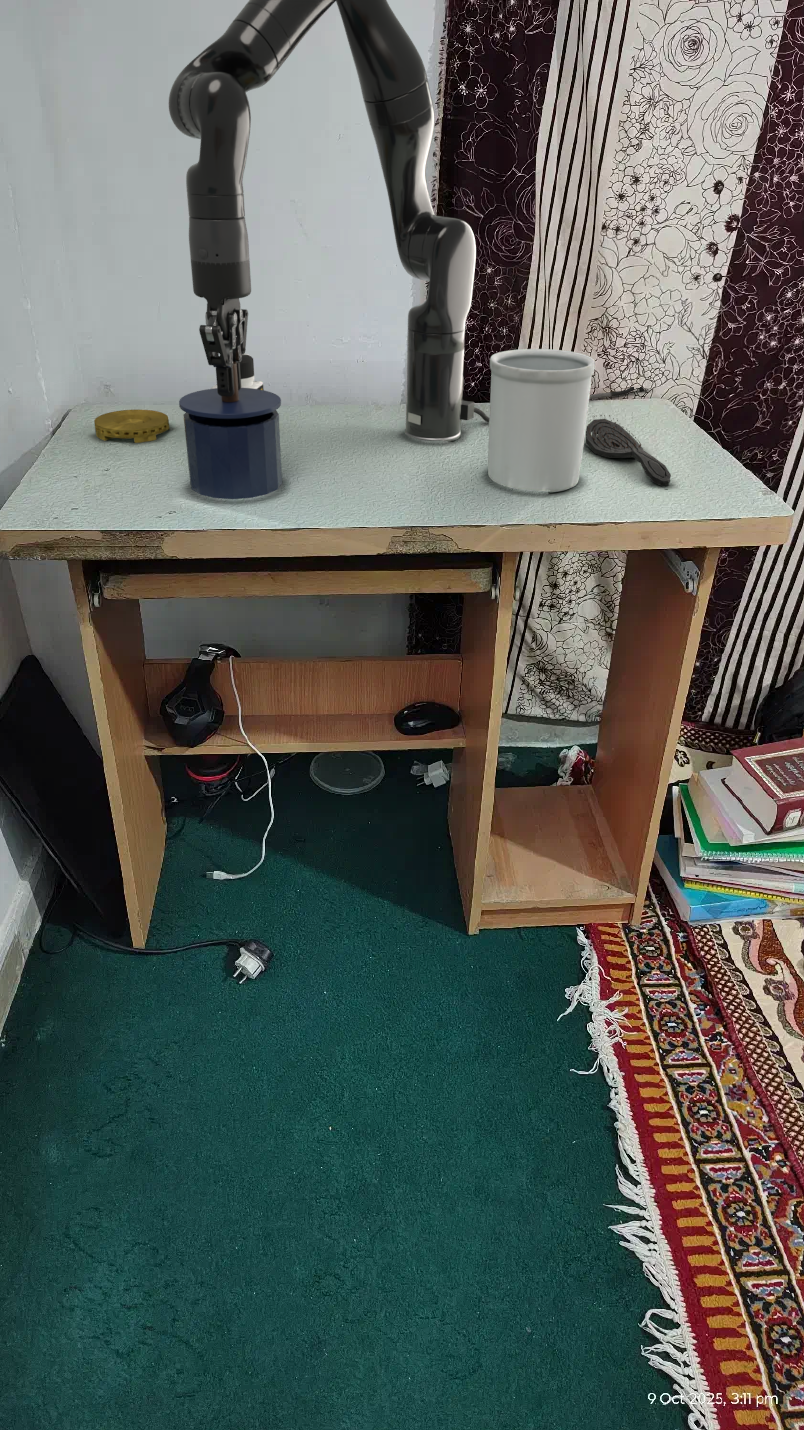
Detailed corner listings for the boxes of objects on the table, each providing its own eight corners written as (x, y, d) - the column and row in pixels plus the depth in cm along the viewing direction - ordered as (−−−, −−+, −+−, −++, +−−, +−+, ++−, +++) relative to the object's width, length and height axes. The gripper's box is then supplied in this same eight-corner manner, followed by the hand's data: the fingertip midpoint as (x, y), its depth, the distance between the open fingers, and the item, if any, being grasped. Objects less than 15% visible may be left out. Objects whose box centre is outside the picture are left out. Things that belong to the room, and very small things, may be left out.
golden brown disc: (180, 425, 169) (178, 412, 168) (153, 445, 159) (151, 432, 158) (114, 420, 171) (112, 407, 170) (83, 440, 161) (81, 427, 160)
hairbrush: (643, 470, 145) (577, 414, 164) (638, 493, 147) (574, 436, 166) (694, 466, 146) (623, 412, 166) (689, 490, 149) (619, 434, 168)
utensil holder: (466, 469, 152) (472, 351, 143) (549, 458, 157) (560, 344, 148) (512, 500, 141) (522, 374, 131) (600, 488, 146) (616, 366, 137)
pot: (228, 467, 151) (223, 397, 145) (298, 482, 146) (296, 410, 140) (172, 491, 141) (164, 418, 136) (244, 509, 136) (239, 433, 130)
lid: (222, 391, 146) (219, 347, 142) (301, 405, 140) (299, 360, 136) (158, 412, 135) (153, 366, 132) (240, 429, 129) (236, 380, 126)
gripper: (230, 265, 121) (240, 407, 130) (263, 250, 132) (270, 382, 142) (172, 262, 122) (186, 404, 131) (209, 248, 133) (220, 379, 143)
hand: (229, 392), depth 136 cm, fingers closed on lid, 2 cm apart
